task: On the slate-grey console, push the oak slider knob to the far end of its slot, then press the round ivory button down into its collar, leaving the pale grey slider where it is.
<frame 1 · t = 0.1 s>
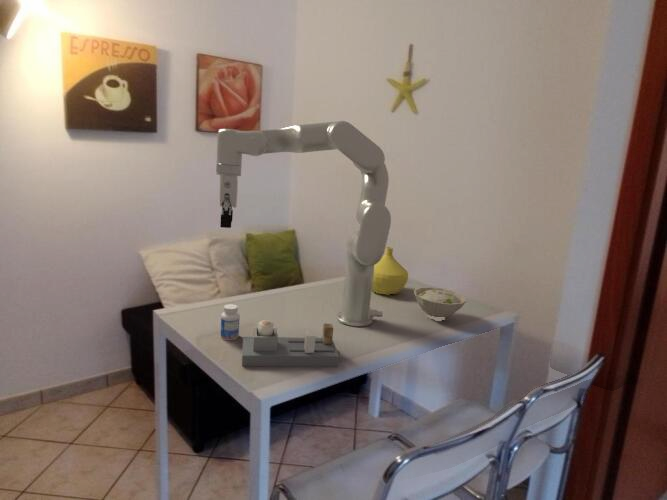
hand: (226, 224, 150), 31 cm above the table, fingers open, 9 cm apart
lever oak: (327, 333, 137), point 6 cm above the table, slide at 0.0 cm
bowl: (436, 318, 175), on the table
button ivory: (265, 329, 130), point 8 cm above the table, slide at 0.0 cm
vase: (384, 292, 200), on the table
panel: (289, 356, 133), on the table
pill bottle: (229, 337, 142), on the table
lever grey: (309, 342, 130), point 6 cm above the table, slide at 6.0 cm
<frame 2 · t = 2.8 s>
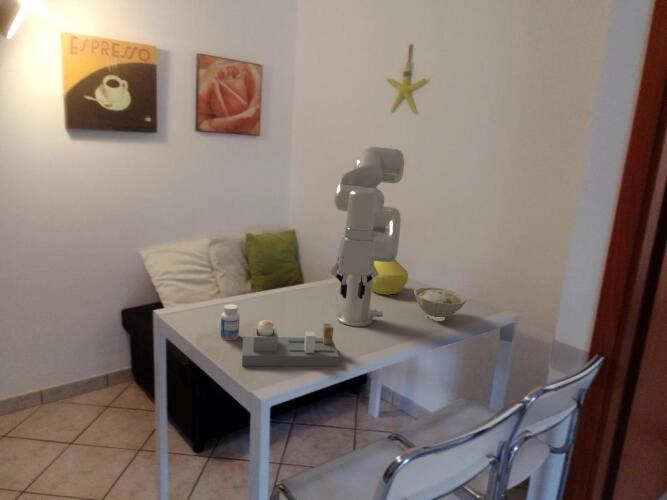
hand: (351, 296, 135), 17 cm above the table, fingers open, 4 cm apart
nothing on the table moved.
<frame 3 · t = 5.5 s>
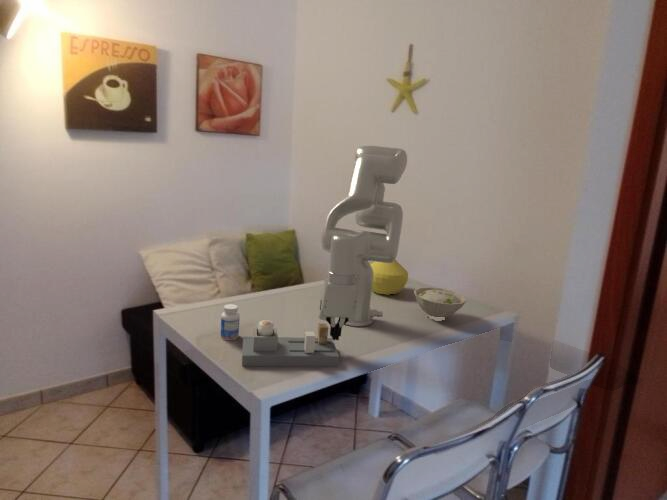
hand: (335, 338, 137), 4 cm above the table, fingers closed
lever oak: (322, 333, 136), point 6 cm above the table, slide at 1.5 cm, touching gripper
everything else where it was.
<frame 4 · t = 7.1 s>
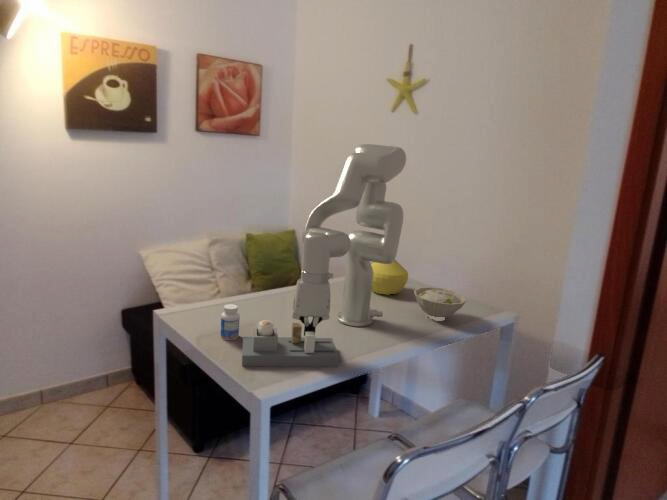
hand: (309, 337, 136), 4 cm above the table, fingers closed
lever oak: (296, 333, 135), point 6 cm above the table, slide at 9.1 cm, touching gripper
everything else where it was.
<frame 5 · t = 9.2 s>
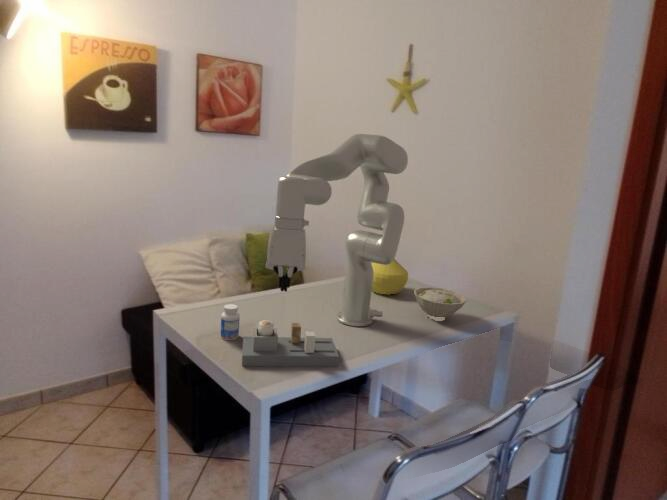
hand: (283, 289, 129), 19 cm above the table, fingers closed
lever oak: (295, 333, 135), point 6 cm above the table, slide at 9.3 cm
everything else where it was.
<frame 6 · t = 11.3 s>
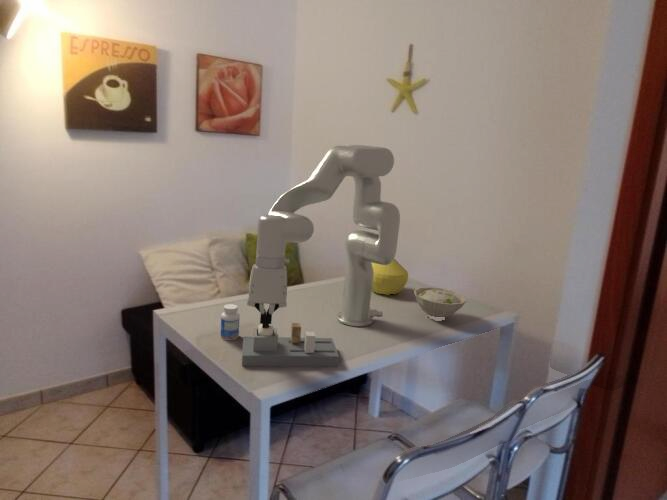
hand: (265, 326, 130), 9 cm above the table, fingers closed
button ivory: (265, 332, 130), point 7 cm above the table, slide at 1.0 cm, touching gripper
everything else where it was.
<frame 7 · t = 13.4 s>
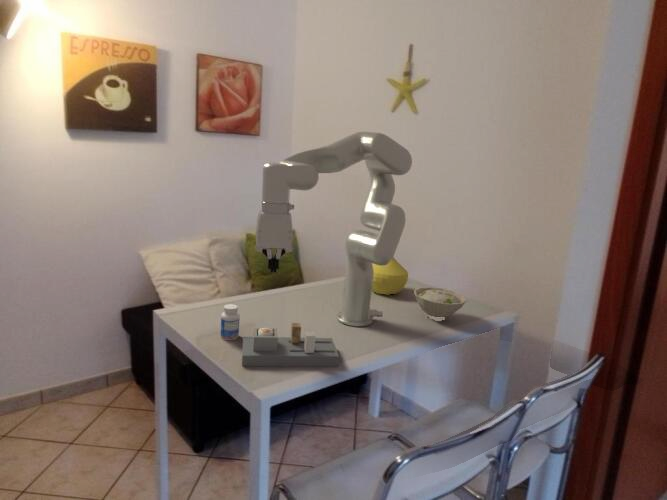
hand: (273, 271, 136), 22 cm above the table, fingers closed
button ivory: (265, 337, 131), point 6 cm above the table, slide at 2.3 cm
everything else where it was.
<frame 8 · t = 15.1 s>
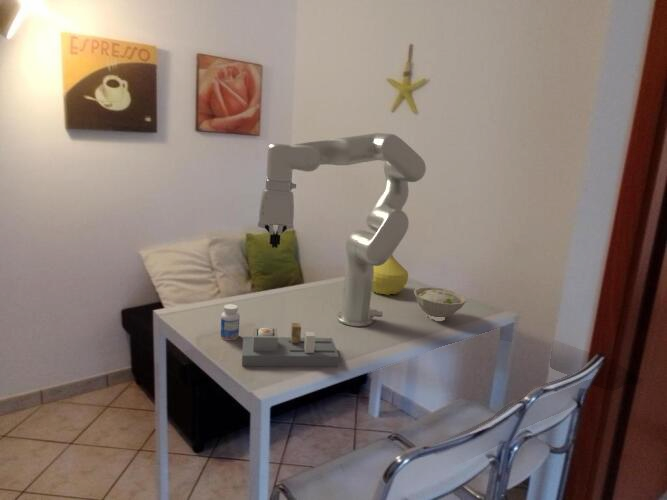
hand: (274, 246, 144), 27 cm above the table, fingers closed
nothing on the table moved.
at the end: lever oak slide at 9.3 cm; button ivory slide at 2.3 cm; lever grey slide at 6.0 cm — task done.
